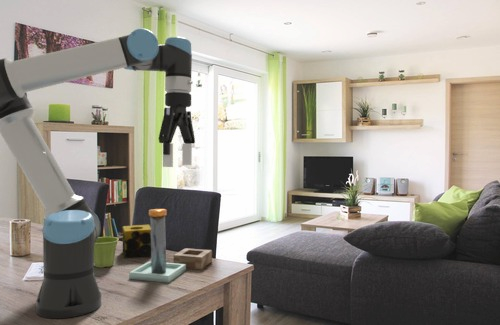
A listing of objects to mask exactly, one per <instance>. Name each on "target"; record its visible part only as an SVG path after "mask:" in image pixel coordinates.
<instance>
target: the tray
mask: <svg viewBox="0 0 500 325" xmlns="http://www.w3.org/2000/svg"><path fill="white" fill-rule="evenodd" d="M186 271H187V268H186V264H177V263H174V262H166V272H165V273H162V274H154V273H152V272H151V260H149V261H147V262H145V263H144V264H142V265H140V266H138V267H136V268H135V269H132V270H131V271H129V273H128V274H129V275H128V276H129V279H130V280H131V279H132V280H138V281H140V280H141V281H147V282H148V281H150V282H156V283H157V282H158V283H160V282H161V283H170V282H172V281H174V280H175V279H177V277H179V276H180V275H182V274H183V273H185V272H186Z"/></svg>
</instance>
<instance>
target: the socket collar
mask: <svg viewBox="0 0 500 325" xmlns="http://www.w3.org/2000/svg"><path fill="white" fill-rule="evenodd" d="M212 261H213V250H212V249H199V248H189V247H188V248H186V247H185V248H183V249H182V250H180V251H178V252H176V253H175V254H173V263H177V264H186V269H192V270H203V269H204V268H206V267H207V266H208V265H210V264H211V263H212Z"/></svg>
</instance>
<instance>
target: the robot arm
mask: <svg viewBox="0 0 500 325" xmlns="http://www.w3.org/2000/svg"><path fill="white" fill-rule="evenodd" d="M192 60H193V55H192V43H191V41H190V40H189V39H188V38H185V37H181V36H176V37H174V36H171V37H168V38H166V39H165V43H164V44H159V40H158V38H157V36H156V35H155V34H154V33H153V32H152V31H151V30H149V29H147V28H136V29H134V30H133V31H132V32H131V33H130V34H127V35H123V36H120V37H114V38H109V39H106V40H101V41H97V42H94V43H88V44H83V45H79V46H75V47H70V48H65V49H61V50H57V51H52V52H48V53H44V54H39V55H35V56H30V57H27V58H26V57H25V58H22V59H17V60H12V59H10V58H8V57H5V58H1V59H0V136H1V137H2V138H3V140H4V142H5V143H6V145H7V147H8V149H9V150H10V152H11V154H12V155H13V157H14V158H15V160H16V162H17V164H18V167H20V169H21V171H22V172H23V174H24V176H25V177H26V180H27V181H28V183H29V184H30V186H31V189H32V190H33V191H34V193H35V195H36V196H37V198H38V200H39V202H40V204H41V205H42V207H43V208H44V212H43V213H44V214H43V217H42V219H43V225H42V229H41V231H42V236H43V237H42V238H43V239H42V240H43V241H42V242H43V243H42V248H43V249H42V250H43V251H42V252H43V255H42V256H43V279H42V283H41V286H40V289H39V292H38V295H37V298H36V301H35V313H36V314H37V315H38V316H40V317H42V318H46V319H48V318H49V319H67V318H68V319H69V318H75V317H79V316H83V315H87V314H90V313H92V312H94V311H96V310H98V309H99V308H100V307H101V305H102V292H101V291H100V287H99V285H98V282H97V279H96V275H95V265H94V244H95V242H96V241H97V239H98V238H99V237H100V234H101V231H102V230H101V221H100V219H99V217H98V215H97V214H96V213H95V212H94V211H93V210H92V209H91V208H90V206H89V204H88V203H87V201H86V199H85V197H84V196H81V195H77V194H75V192H74V190H73V188H72V186H71V184H70V183H69V181H68V179H67V178H66V177H67V176H65V174H64V172H63V171H62V169H61V167H60V166H59V164H58V162H57V160H56V158H55V156H54V155H53V153H52V152H51V149H50V148H49V146H48V144H47V143H46V141H45V139H44V138H43V135H42V134H41V132H40V130H39V129H38V127H37V125H36V123H35V121H34V120H33V118H32V116H33V114H34V111H35V110H34V108H33V105H32V103H31V102H30V100H29V99H28V94H27V93H28V92H31V91H36V90H39V89H44V88H47V87H52V86H56V85H60V84H64V83H68V82H72V81H75V80H79V79H84V78H88V77H92V76H96V75H99V74H104V73H108V72H111V71H115V70H120V69H125V70H130V71H134V72H137V71H142V72H143V71H147V72H148V71H149V72H151V71H152V72H164V74H165V75H164V91H165V94H164V105H165V107H164V109H163V118H162V121H161V126H160V131H159V135H158V142H159V144H162V167H163V168H173V167H174V143H172V141H173V138H174V136H175V134H176V130H177V129H178V128H179V132H180V134H181V137H182V140H183V143H182V150H181V151H182V153H181V154H182V156H181V157H182V161H181V162H182V165H183V166H191V165H192V160H193V159H192V152H193V151H192V150H193V149H192V147H193V146H192V145H193V144H195V143H196V140H195V139H196V138H195V133H194V126H193V123H192V111H190V110H187V108H190V107H192V95H191V92H192V85H193V81H192V67H193V66H192Z"/></svg>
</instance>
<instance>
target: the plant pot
mask: <svg viewBox="0 0 500 325" xmlns="http://www.w3.org/2000/svg"><path fill="white" fill-rule="evenodd" d="M119 240H120V239H119V237H115V236H101V237H100V236H99V238H98V239H97V241H96V242H95V244H94V267H95V268H105V267H112V266H114V264H115V258H116V257H115V256H116V250H117V245H118V241H119Z"/></svg>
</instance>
